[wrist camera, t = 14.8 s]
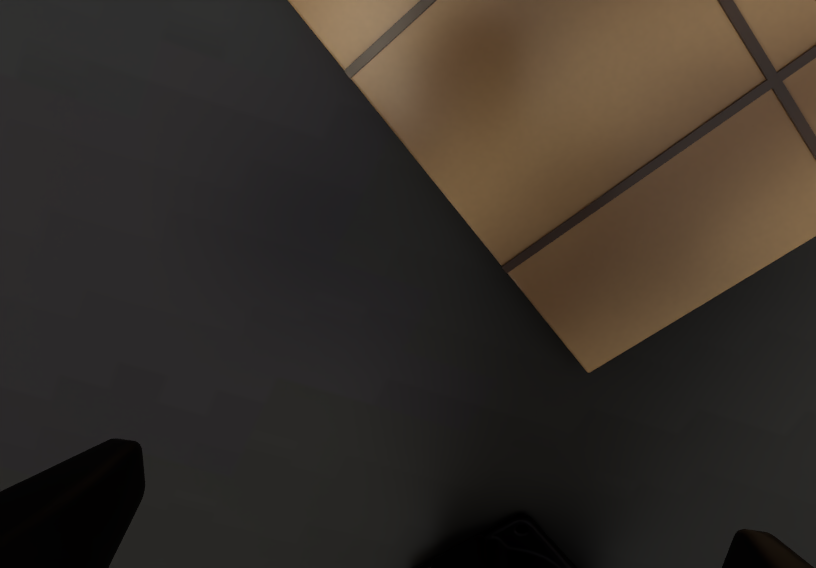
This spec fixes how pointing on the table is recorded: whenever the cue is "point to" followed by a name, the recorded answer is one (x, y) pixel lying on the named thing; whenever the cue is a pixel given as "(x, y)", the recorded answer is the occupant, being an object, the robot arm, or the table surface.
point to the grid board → (601, 141)
